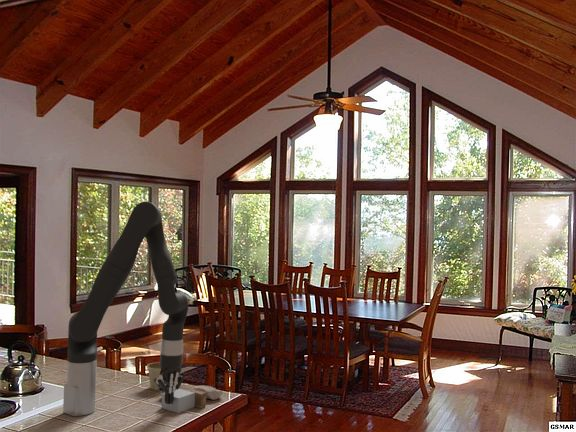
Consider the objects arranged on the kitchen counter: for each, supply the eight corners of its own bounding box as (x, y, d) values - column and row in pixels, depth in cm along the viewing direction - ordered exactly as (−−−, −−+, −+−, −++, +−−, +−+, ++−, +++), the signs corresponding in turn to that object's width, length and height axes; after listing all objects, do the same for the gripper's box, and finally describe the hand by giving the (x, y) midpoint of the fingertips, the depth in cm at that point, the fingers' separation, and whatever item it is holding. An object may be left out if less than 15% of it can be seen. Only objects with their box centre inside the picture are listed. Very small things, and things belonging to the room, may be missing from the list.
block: (178, 413, 197) (178, 398, 197) (161, 407, 202) (162, 393, 202) (194, 407, 204) (195, 392, 204) (178, 402, 208) (178, 388, 208)
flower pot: (168, 392, 219) (168, 369, 219) (143, 391, 220) (143, 368, 219) (173, 384, 229) (174, 362, 229) (149, 383, 229) (150, 361, 229)
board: (200, 408, 202) (201, 394, 202) (162, 397, 213) (162, 383, 213) (205, 406, 204) (206, 392, 204) (166, 395, 215) (167, 382, 215)
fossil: (203, 384, 221) (224, 378, 217) (207, 401, 219) (228, 395, 215) (188, 387, 213) (209, 381, 209) (192, 406, 212) (214, 399, 207)
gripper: (165, 357, 190) (162, 410, 190) (193, 351, 201) (190, 401, 201) (149, 353, 194) (146, 405, 194) (177, 347, 205) (175, 396, 205)
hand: (168, 403), depth 197 cm, fingers closed
